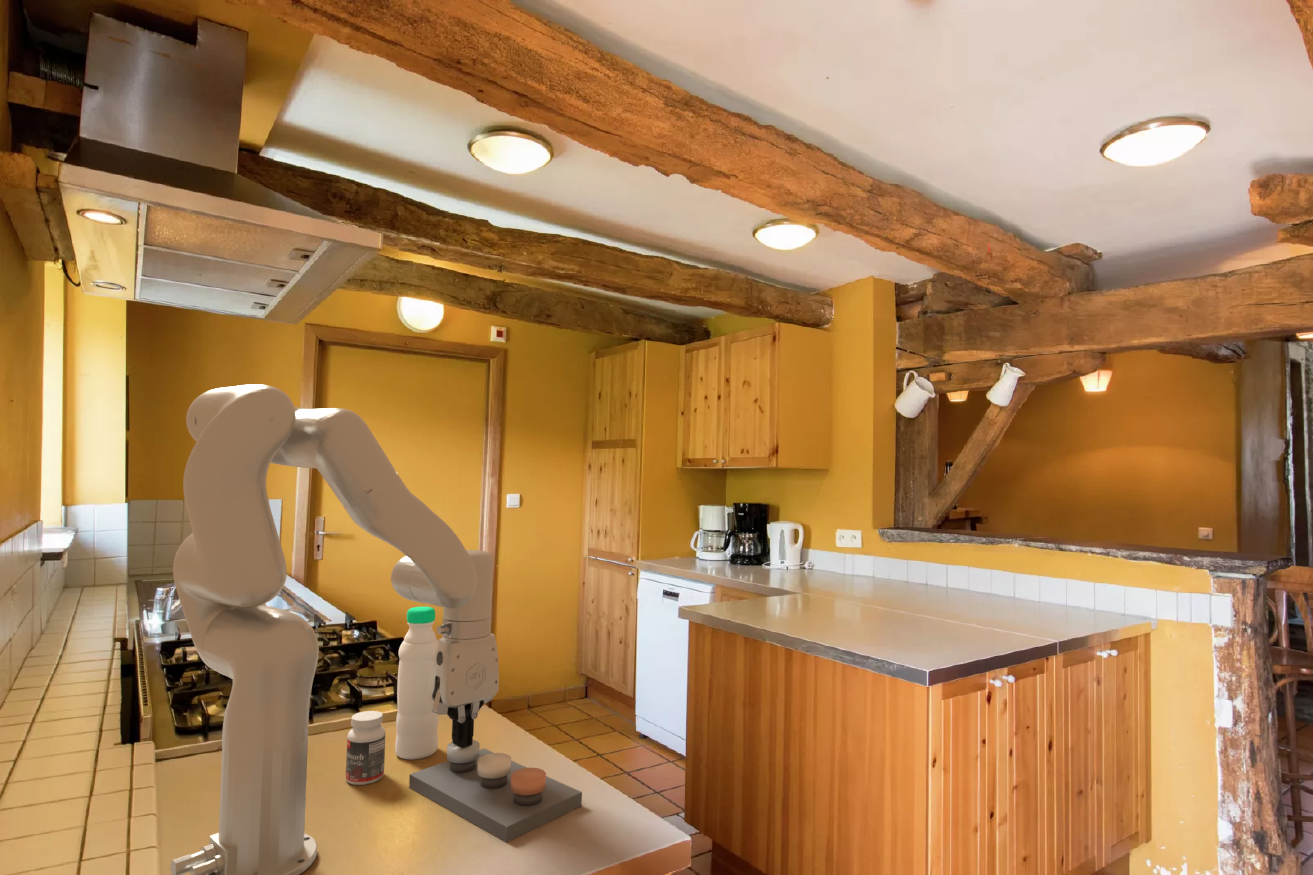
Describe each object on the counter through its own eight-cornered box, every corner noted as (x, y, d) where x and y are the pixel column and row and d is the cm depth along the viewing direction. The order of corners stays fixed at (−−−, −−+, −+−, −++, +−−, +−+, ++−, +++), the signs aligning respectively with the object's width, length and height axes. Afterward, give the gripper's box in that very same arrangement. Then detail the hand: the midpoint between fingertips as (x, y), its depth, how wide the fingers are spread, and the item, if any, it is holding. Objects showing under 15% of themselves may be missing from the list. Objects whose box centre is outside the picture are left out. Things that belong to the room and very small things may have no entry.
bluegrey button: (459, 766, 111) (459, 754, 111) (440, 756, 115) (440, 745, 115) (485, 756, 115) (486, 745, 115) (467, 747, 118) (467, 736, 118)
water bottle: (424, 763, 121) (429, 613, 122) (386, 758, 122) (391, 610, 123) (444, 747, 128) (449, 605, 129) (408, 743, 129) (413, 603, 130)
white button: (490, 781, 106) (491, 769, 106) (470, 771, 109) (471, 759, 109) (517, 771, 110) (518, 759, 110) (497, 761, 113) (497, 750, 113)
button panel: (506, 842, 97) (506, 817, 97) (409, 787, 112) (409, 765, 112) (581, 805, 107) (582, 783, 107) (483, 760, 123) (484, 740, 123)
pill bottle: (337, 781, 114) (339, 717, 114) (367, 767, 119) (369, 707, 119) (362, 789, 111) (364, 724, 111) (391, 775, 116) (393, 713, 116)
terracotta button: (525, 798, 101) (526, 785, 101) (503, 787, 104) (503, 775, 104) (552, 787, 105) (553, 774, 105) (530, 776, 108) (530, 764, 108)
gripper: (439, 640, 107) (434, 765, 107) (518, 625, 119) (514, 738, 118) (412, 631, 112) (407, 751, 111) (490, 618, 124) (486, 726, 123)
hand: (462, 744), depth 115 cm, fingers closed
